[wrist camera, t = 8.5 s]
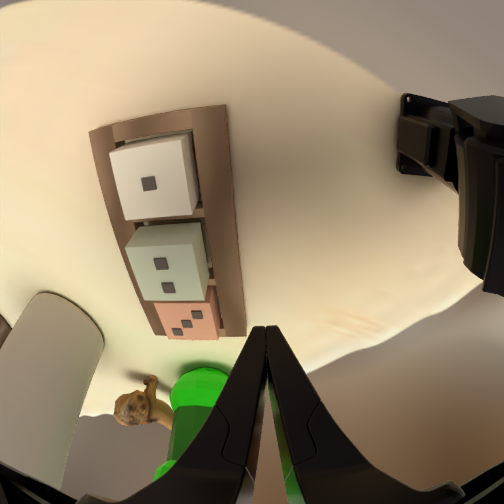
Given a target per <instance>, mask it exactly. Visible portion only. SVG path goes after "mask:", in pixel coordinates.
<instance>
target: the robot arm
mask: <svg viewBox="0 0 504 504" xmlns="http://www.w3.org/2000/svg"><path fill="white" fill-rule="evenodd" d="M407 97H409V99H410V100H409V102H407ZM397 149H398V156H397V165H396V168H397V170H398V171H399V172H400V173H401V174H409V175H420V176H431V177H435V178H436V179H437V180H439V181H440V182H442V183H443V184H445V185H446V186H447V187H449V188H450V189H452V190H453V191H454V192H456V193H457V194H458V195H459V221H458V226H459V228H458V247H459V250H460V252H461V255H462V257H463V258H464V261H463V263H464V265H465V266H466V267H467V268H468V269H469V270H470V271H471V272H472V273H473V274H475V275H476V276H477V277H479V278H480V279H482V280H483V285H482V290H483V291H484V292H488V293H494V294H498V295H500V296H503V297H504V97H500V96H494V95H493V96H492V95H491V96H482V97H474V98H466V99H459V100H453V101H448V103H445V102H441V101H438V100H434V99H431V98H427V97H423V96H418V95H414V94H409V93H404V94H403V95H402V98H401V117H400V118H399V129H398V142H397ZM403 165H404V168H403V169H402V170H401V167H402V166H403ZM266 354H267V358H266ZM267 381H268V389H269V395H270V401H271V407H272V412H273V418H274V424H275V430H276V436H277V442H278V447H279V453H280V459H281V464H282V470H283V476H284V481H285V487H286V493H287V498H288V503H289V504H504V460H503V461H502V462H500V463H498V464H496V465H494V466H492V467H491V468H489V469H487V470H486V471H484V472H482V473H480V474H479V475H477V476H476V477H474V478H472V479H471V480H469V481H467V482H466V483H464V484H462V485H460V486H458V485H457V484H455V483H454V482H453V481H451V480H450V481H447V482H444V483H441V484H438V485H436V486H433V487H430V488H427V489H424V490H420V491H418V490H416V489H413V488H411V487H409V486H407V485H406V484H404V483H402V482H400V481H398V480H397V479H395V478H393V477H391V476H390V475H388V474H386V473H385V472H383V471H381V470H380V469H378V468H376V467H375V466H374V465H373V464H371V463H370V462H369V461H368V460H367V459H366V458H365V457H364V456H363V455H362V453H360V451H359V450H358V449H357V448H356V446H355V445H354V444H353V443H352V442H351V441H350V440H349V438H348V437H347V436H346V435H345V433H344V432H343V431H342V430H341V428H340V427H339V426H338V424H337V423H336V422H335V421H334V419H333V417H332V416H331V414H330V413H329V411H328V410H327V408H326V406H325V405H324V403H323V402H322V401H321V398H320V397H319V395H318V393H317V392H316V390H315V388H314V387H313V385H312V383H311V382H310V380H309V378H308V377H307V375H306V373H305V371H304V370H303V368H302V366H301V365H300V363H299V361H298V360H297V358H296V356H295V354H294V353H293V351H292V349H291V348H290V346H289V344H288V343H287V341H286V339H285V337H284V336H283V334H282V332H281V330H280V329H279V327H278V326H277V325H272V326H266V329H265V326H254V327H253V328H252V330H251V332H250V334H249V336H248V339H247V341H246V343H245V345H244V347H243V349H242V351H241V353H240V355H239V357H238V359H237V361H236V363H235V365H234V367H233V369H232V371H231V373H230V375H229V377H228V379H227V381H226V383H225V385H224V387H223V389H222V391H221V392H220V394H219V396H218V398H217V400H216V402H215V405H214V406H213V408H212V410H211V411H210V413H209V415H208V417H207V419H206V420H205V422H204V424H203V425H202V427H201V428H200V430H199V431H198V433H197V434H196V436H195V437H194V439H193V440H192V441H191V442H190V444H189V445H188V446H187V448H186V449H185V450H184V452H183V453H182V454H181V456H180V457H179V458H178V459H177V461H176V462H175V463H174V464H173V466H172V467H171V468H170V469H169V470H168V471H167V472H166V473H164V474H163V475H162V476H161V477H159V478H158V479H156V480H155V481H153V482H152V483H150V484H149V485H147V486H146V487H144V488H143V489H141V490H140V491H138V492H136V493H135V494H133V495H131V496H130V497H128V498H126V499H124V500H122V501H116V500H112V499H108V498H104V497H100V496H97V495H93V494H88V493H87V494H85V495H84V496H83V497H82V498H81V499H77V498H75V497H73V496H71V495H68V494H66V493H64V492H63V491H61V490H59V489H57V488H55V487H53V486H51V485H48V484H46V483H44V482H42V481H40V480H38V479H36V478H34V477H31V476H29V475H27V474H25V473H23V472H21V471H19V470H17V469H15V468H13V467H11V466H9V465H7V464H5V463H4V462H2V461H0V504H252V499H253V492H254V485H255V484H254V483H255V478H256V471H257V464H258V456H259V449H260V441H261V433H262V425H263V416H264V408H265V399H266V390H267Z"/></svg>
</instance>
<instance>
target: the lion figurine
mask: <svg viewBox="0 0 504 504" xmlns="http://www.w3.org/2000/svg"><path fill="white" fill-rule="evenodd" d="M149 379H150V382H149V381H147V380H145V381H144V384H145V385H147V387H146V389H145V390H144V392H141V391H139V390H136V391H134V392H132V393H130V394H123V395H121V396H120V397H119V398H118V399H117V400H116V401H115V409H114V410H115V411H114V414H113V416H114V417H116V420H117V421H118V422H119V423H120V424H122V425H127V426H133V425H138V424H149V423H152V422H159V423H161V424H163V425H164V426H166V427H167V428H168V429H169V430H172V424H173V418H174V412H173V410H172V409H171V407H170V406H169V405H168V404H167V403H165V402H164V401H162V400H159V399H156V385H157V378H156V376H154V375H150V376H149Z"/></svg>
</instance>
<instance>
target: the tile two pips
mask: <svg viewBox="0 0 504 504" xmlns="http://www.w3.org/2000/svg"><path fill="white" fill-rule="evenodd" d="M125 250H126V253H127V256H128V259H129V261H130V264H131V267H132V270H133V272H134V275H135V278H136V280H137V283H138V286H139V288H140V291H141V293H142V296H143V298H144V300H153V301H203V300H205V295H206V290H207V285H208V280H209V276H210V275H209V270H208V265H207V259H206V254H205V248H204V243H203V237H202V231H201V225H200V222H195V223H181V224H167V225H154V226H142V227H139V228H138V229H137V230H136V232H135V233H134V235H133V236H132V238H131V239H130V241H129V242H128V244H127V245H126V247H125Z"/></svg>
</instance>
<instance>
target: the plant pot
mask: <svg viewBox="0 0 504 504" xmlns="http://www.w3.org/2000/svg"><path fill="white" fill-rule="evenodd" d="M10 332H11V328H10V327H9V325H8V324H7V322H6V321H5V320H4V318H3V317H2V316H1V315H0V349H1V347H2V346H3V344H4V342H5V340H6V339H7V337H8V335H9V333H10Z"/></svg>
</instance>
